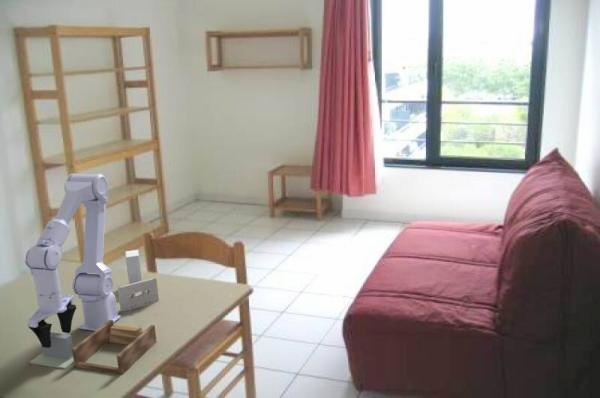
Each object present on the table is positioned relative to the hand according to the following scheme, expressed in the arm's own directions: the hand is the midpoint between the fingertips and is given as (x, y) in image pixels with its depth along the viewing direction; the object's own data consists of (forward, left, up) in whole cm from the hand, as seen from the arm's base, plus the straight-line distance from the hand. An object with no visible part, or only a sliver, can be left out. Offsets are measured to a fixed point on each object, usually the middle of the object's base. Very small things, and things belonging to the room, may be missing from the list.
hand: (56, 339), depth 151 cm
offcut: (-11, +13, -5) cm, 18 cm away
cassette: (-32, +4, -5) cm, 33 cm away
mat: (0, 0, -5) cm, 5 cm away
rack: (-5, +14, -5) cm, 16 cm away
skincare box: (-44, -5, -5) cm, 45 cm away
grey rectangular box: (0, 0, -5) cm, 5 cm away
